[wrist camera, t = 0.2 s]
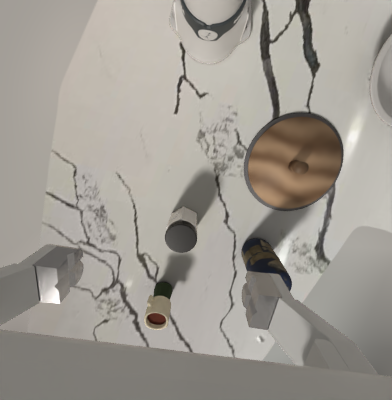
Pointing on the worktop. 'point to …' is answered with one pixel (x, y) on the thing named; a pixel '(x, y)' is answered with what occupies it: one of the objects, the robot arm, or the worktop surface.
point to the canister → (264, 260)
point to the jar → (182, 230)
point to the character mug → (158, 307)
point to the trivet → (262, 133)
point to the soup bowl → (382, 83)
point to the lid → (294, 162)
